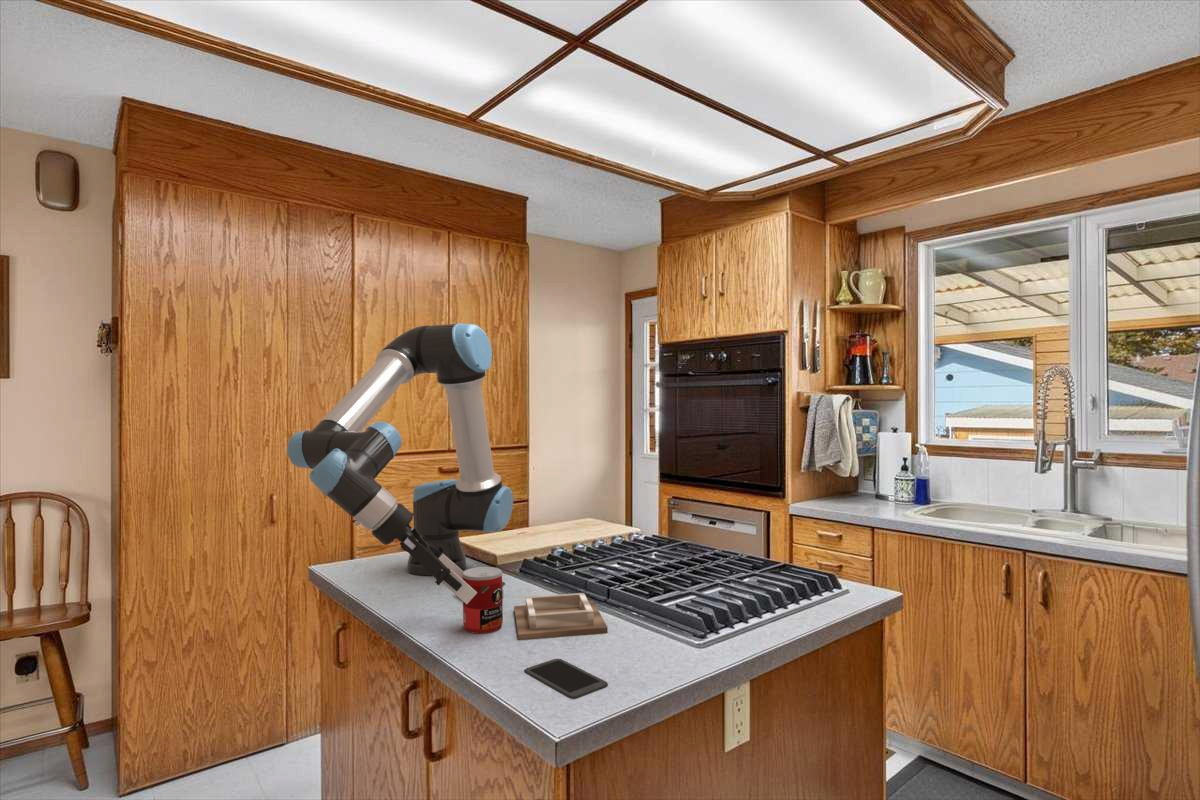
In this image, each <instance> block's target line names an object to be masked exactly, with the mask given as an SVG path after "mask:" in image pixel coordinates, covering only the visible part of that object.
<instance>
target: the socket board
mask: <svg viewBox="0 0 1200 800" xmlns="http://www.w3.org/2000/svg"><path fill="white" fill-rule="evenodd" d="M513 611H514V612H515V613H514V612H513V613H514V619H515V624H516V625H515V626H516V633H517V640H519V641H522V640H533V639H534V640H535V639H545V638H557V637H559V638H560V637H568V636H569V637H570V636H581V635H583V636H584V635H595V634H607V633H608V631H609V629H608V625H607V624H606V622H605V620H604V618H603V616H602V614H601V613H600V611H599V609H598V607H597V605H596V602H595V601H594V600H588V598H587V595H586V594H585V592H577V593H564V594H563V593H562V594H546V595H532V596H525V604H524V605H523V604H522V605H514V606H513Z"/></svg>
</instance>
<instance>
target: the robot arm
mask: <svg viewBox="0 0 1200 800" xmlns="http://www.w3.org/2000/svg"><path fill="white" fill-rule="evenodd" d="M492 358H493V352H492V345H491V342H490V339H489V337H488V335H487V334H486V332H485V331H484V330H483V329H482V328H481V327H480V326H478V325H477V324H474V323H462V322H459V323H450V324H449V323H448V324H438V325H437V324H436V325H435V324H434V325H433V324H432V325H419V326H417V327H413V328H410V329H409V330H407V331H405V332H403V333H402V334H400V335H398V336H397V337H395V338H394V339H393V340H391V341H390V342H389V343H388V344H387V345H386V346H385V347H384V348H383V349H382V350H381V351H379V353H378V354H377V356H376V358H375V359H376V360H375V363H374V364H373V365H372V367H370V369H369V370H367V371H366V373H365V374H364V375H363V376H362V377H361V378H360V379H359V380H358V381H357V382H356V383H355V384H354V385H353V387H352V388H351V389H350V390H349V391H348V392H347V393H346V394H345V395H344V396H343V397H342V398H341V399H340V400H339V401H338V402H337V403H336V405H334V407H332V409H331V410H330V411H329V412H328V413H327V414H326V415H325V416H324V417H323V418H322V419H321V420H320V421H319V423H318V424H316V426H315V427H314V428H313V429H312V430H309V429H308V430H303V431H298V432H295V433H294V434H293V435H291V437H290V438H289V440H288V442H287V447H286V453H287V457H288V459H289V461H290V462H291V464H292V465H294V466H295V467H297V468H301V469H310V470H311V471H310V472H309V479H310V481H311V482H312V484H313V485H314V486H315V487H316V488H318V489H319V491H320V492H321V493H322V494H323V495H325V496H326V497H327V498H329V499H330V500H331V501H332V502H334V504H336V505H337V506H338V507H340V508H341V509H342V510H343V511H344V512H346V513H347V514H348V515H349V516H351V517H352V518H353V519H354V520H355V521H353V522H354V525H355V526H359V525H360V524H361V526H362V527H364V529H366V530H367V531H371V533H372V536H373V537H374V538H376V539H377V540H378V541H379V542H380V543H381V544H382V545H384V546H388V545H389V544H392V542H394V541H395V540H398V541H400V543H399V545H400V548H401V549H402V550H403V551H405V552H407V553H408V554H409V557H408V559H407V572H408V573H410V574H413V575H417V576H432V577H434V579H435V580H436V581H435V584H436V585H437V586H440V585H441V584H443V585H444V586H445V587H446V588H447V589H448V590H449V591H451V592H452V593H453V594H454V595H455V596H456V597H458V599H460V600H461V601H462V602H463V601H464V602H465V603H466V604H468V603H469V601H470V600H471V599H472V598H473V597H474V596H475V595H476V594H477V592H476V591H475V590H474V589H473V588H472V587H470V586H469V585H468V584H467V583H466V582H465V581H464V580H462V575H463V572H464V571H463V570H464V569H465V568H466V567H467V558H466V554H465V551H464V548H463V545H462V543H461V539H460V531H467V532H482V533H492V532H493V533H498V532H501V531H502V530H503V529H504V528H506V526H507V525H508V523H509V521H510V518H511V517H512V514H513V513H512V511H513V507H514V494H513V491H512V489H511V488H510V487H508V486H506V485H503V482H502V477H501V475H500V474H498V473H497V472H495V468H494V463H493V462H494V460H493V456H492V455H493V454H492V449H491V443H490V436H489V435H490V434H489V428H488V424H487V416H486V411H485V404H484V396H483V390H482V383H483V380H484V379H486V376H487V375H486V372H488V370H489V369H490V367H491V365H492V362H493V361H492ZM422 374H436V378H437V383H438V385H440V386H441V387H443V388H444V389H445V393H446V399H447V406H448V412H449V417H450V418H449V419H450V423H451V424H450V425H451V429H452V434H453V441H454V447H455V448H454V449H455V452H456V459H457V465H458V466H457V467H458V471H459V476H460V477H459V479H456V478H455V479H454V478H451V479H450V478H449V479H442V480H437V481H436V480H435V481H429V482H425V483H419V484H417V485H416V486H415V487H414V488H413V495H412V511H410V510H409V509H408V508H407V507H405V506H404V505H403V504H402V503H397V501H398V500H397V498H396V497H395V496H394V495H392V494H391V493H390V492H389V491H388V490H387V489H386V488H384V486H382V485H381V484H380V483H378V481H376V480H375V479H376V478H377V477H378V476H379V474H380V473H381V472H382V471H383V470H384V469H385V468H386V467H387V465H388V464H389V463H390V462H391V461H392V460H393V459H394V458H395V456H396V454H397V453H398V451H399V450H400V449H401V446H402V443H403V442H402V437H401V434H400V432H399V430H398V429H397V428H396V427H395V426H393V425H392V424H390V423H388V422H385V421H374V422H373V423H371V424H370V425H368V424H369V423H370V422H371V420H372V419H373V418H374V417H375V415H376V414H377V413H378V412H379V411H380V410H381V408H383V406H384V405H385V404H386V403H387V401H389V399H390V398H391V397H392V396H393V395H394V394H395V392H396V391H397V390H398V389H399V388H400V387H401V385H403V384H407V383H409V382H410V381H411V380H412V379H413V378H414V377H416V376H417V375H418V376H419V375H422ZM367 425H368V426H367ZM366 426H367V427H366ZM365 427H366V428H365ZM364 428H365V430H364ZM412 521H413V526H411V525H410V523H411V522H412Z"/></svg>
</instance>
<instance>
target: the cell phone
mask: <svg viewBox="0 0 1200 800" xmlns="http://www.w3.org/2000/svg"><path fill="white" fill-rule="evenodd" d="M523 670H524V671H523V672H524V674H527V675H528V676H529V677H532V678H533V679H535V680H537V681H538V682H540V683H542V684H544V685H545V686H548V687H549V688H551V689H553V690H554V691H557V692H558V693H560V694H562V695H563V696H565V697H567V698H569V699H572V700H577V699H579V698H581V697H584V696H586V695H590V694H593V693H594V692H597V691H600V690H603V689H605V688H607V687H609V684H608V682H607V681H605V680H604V679H602V678H600V677H598V676H596V675H594V674H592V673H590V672H588V671H586V670H584V669H582V668H580V667H579V666H576V665H575V664H572V663H570V662H568V661H565V660H564V659H562V658H553V659H550V660H548V661H545V662H541V663H539V664H535V665H532V666H529V667H526V668H525V669H523Z"/></svg>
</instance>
